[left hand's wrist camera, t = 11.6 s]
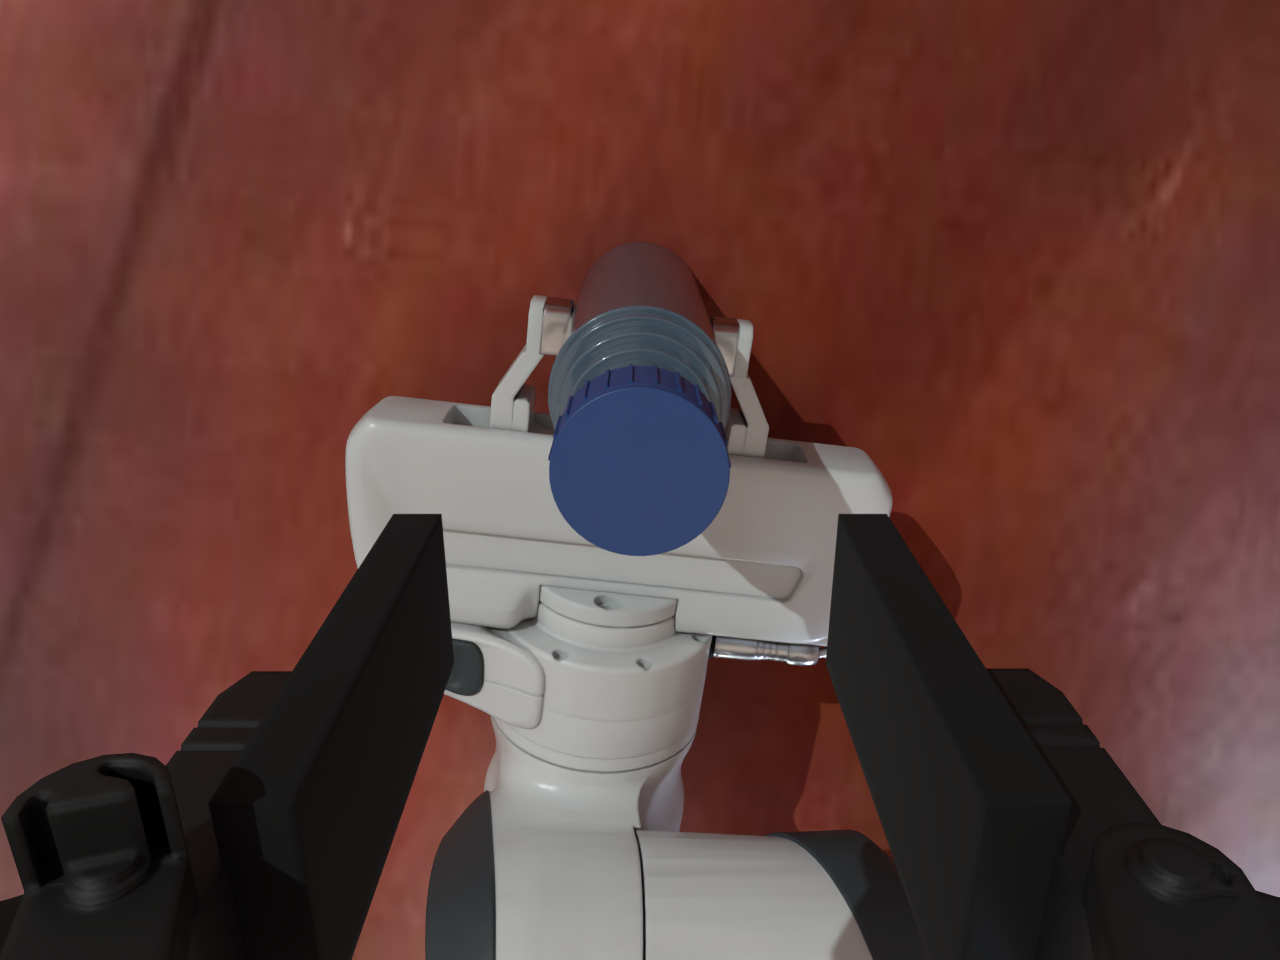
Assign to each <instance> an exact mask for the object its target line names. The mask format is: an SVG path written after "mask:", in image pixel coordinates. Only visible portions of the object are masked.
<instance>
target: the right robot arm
mask: <svg viewBox="0 0 1280 960" xmlns="http://www.w3.org/2000/svg"><path fill="white" fill-rule="evenodd" d="M573 309H574V300H568V299H561V298H554V297H547V296H537V295H534V296H533V298H532V300H531V304H530V310H529V318H528V332H527V344H526V345H525V346H524V348H523V349H522V351H521V352H520V353H519V355H518V356H517V358H516V359H515V361H514V362H513V363H512V365H511V366H510V368H509V369H508V371H507V372H506V373H505V375H504V376H503V378H502V379H501V381H500V382H499V384H498V386H497V388H496V389H495V391H494V393H493V395H492V402H491V407H490V406H481V405H472V404H463V403H454V402H445V401H436V400H427V399H418V398H410V397H402V396H389V397H386V398H384V399H382V400H381V401H380V402H379V403H377V404H376V405H375V406H374V407H373V408H371V409H370V410H369V411H368V412H367V413H366V414H365V415H364V416H363V417H362V418H361V419H360V420H359V421H358V422H357V424H356V425H355V426H354V427H353V429H352V431H351V433H350V434H349V437H348V440H347V445H346V489H347V502H348V513H349V522H350V530H351V537H352V543H353V549H354V555H355V560H356V564H357V568H359V567H360V565H361V564H362V562H363V560H364V559H365V557H366V556H367V554H368V553H369V551H370V550H371V548H372V546H373V545H374V543H375V542H376V540H377V539H378V537H379V535H380V534H381V532H382V531H383V529H384V528H385V526H386V525H387V523H388V521H389V520H390V518H391V517H392V515H393V514H442V525H443V537H444V548H445V560H446V572H447V583H448V595H449V607H450V618H451V630H452V642H453V654H454V665H453V668H452V671H451V674H450V677H449V680H448V683H447V686H446V688H445V691H444V694H445V695H448V696H450V697H453V698H455V699H457V700H460V701H462V702H464V703H467V704H469V705H471V706H473V707H475V708H477V709H480V710H482V711H484V712H486V713H488V714H490V715H491V720H492V725H493V729H494V732H495V736H496V750H495V754H494V756H493V758H492V760H491V762H490V765H489V768H488V770H487V774H486V778H485V784H484V793H482V794H481V795H480V796H479V797H477V798H476V799H475V800H474V801H473V802H472V803H471V804H470V805H469V806H468V808H467V809H466V810H465V811H464V812H463V814H462V815H461V816H460V817H459V818H458V820H457V821H456V822H455V823H454V824H453V826H452V827H451V828H450V829H449V831H448V832H447V833H446V834H445V836H444V837H443V839H442V840H441V843H440V845H439V848H438V850H437V853H436V856H435V859H434V863H433V867H432V871H431V876H430V882H429V888H428V897H427V908H426V934H425V952H426V960H929V959H928V956H927V953H926V950H925V948H924V945H923V942H922V939H921V936H920V933H919V930H918V927H917V924H916V922H915V919H914V916H913V913H912V910H911V907H910V904H909V901H908V899H907V896H906V893H905V890H904V887H903V884H902V881H901V878H900V876H899V873H898V870H897V867H896V864H895V861H894V860H893V859H892V858H891V857H890V856H889V855H888V854H887V853H885V852H884V851H883V850H882V849H881V848H879V847H878V846H877V845H876V844H875V843H873V842H872V841H871V840H870V839H869V838H867V837H866V836H865V835H863V834H861V833H860V832H857V831H854V830H831V831H808V832H781V833H771V834H767V835H765V836H755V835H735V834H716V833H696V832H679V830H680V825H681V820H682V814H683V806H684V787H683V782H682V777H681V765H682V762H683V760H684V758H685V756H686V754H687V753H688V751H689V749H690V747H691V745H692V743H693V740H694V737H695V734H696V730H697V724H698V719H699V713H700V707H701V701H702V695H703V689H704V683H705V677H706V671H707V663H708V659H710V658H711V657H717V658H727V659H737V660H752V661H754V660H771V661H774V660H775V661H781V662H784V663H785V664H789V665H796V666H810V665H816V664H817V663H818V661H819V658H825V657H826V653H827V647H824V648H819V646H827V642H828V630H829V618H830V607H831V595H832V583H833V572H834V560H835V548H836V537H837V525H838V514H887V515H888V517H890V513H891V508H892V494H891V490H890V488H889V486H888V484H887V482H886V480H885V478H884V476H883V475H882V473H881V471H880V470H879V469H878V467H877V466H876V465H875V464H874V462H873V461H872V460H871V459H870V457H869V456H868V455H867V454H866V453H865V452H864V451H863V450H861V449H858V448H854V447H846V446H837V445H828V444H819V443H810V442H802V441H793V440H784V439H775V438H767V437H768V431H769V426H768V423H767V420H766V418H765V415H764V413H763V410H762V408H761V405H760V403H759V400H758V397H757V395H756V392H755V390H754V387H753V385H752V382H751V380H750V377H749V375H748V373H747V372H748V366H749V359H750V353H751V347H752V341H753V325H752V323H751V322H750V320H742V319H734V318H724V317H714V316H711V317H710V321H711V324H712V327H713V330H714V332H715V335H716V338H717V341H718V343H719V346H720V349H721V352H722V354H723V357H724V360H725V363H726V366H727V368H728V371H729V376H730V381H731V384H732V386H733V389H734V391H735V394H736V396H737V399H738V401H739V404H740V406H741V409H742V410H741V411H740V410H739V409H737V408H730V412H729V417H728V420H727V423H726V426H725V429H724V430H725V434H726V438H727V441H728V445H726V447H727V451H728V455H729V459H730V462H731V468H730V479H729V486H728V491H727V495H726V497H725V500H724V503H723V505H722V507H721V509H720V511H719V513H718V514H717V516H716V517H715V519H714V520H713V522H712V523H711V524H710V525H709V526H708V527H707V528H706V529H705V530H704V531H703V532H702V533H701V534H700V535H699V536H697V537H696V538H695V539H693V540H692V541H690V542H689V543H687V544H685V545H683V546H681V547H679V548H677V549H675V550H672V551H669V552H666V553H662V554H658V555H651V556H628V555H621V554H617V553H613V552H609V551H607V550H604V549H602V548H599V547H597V546H596V545H594V544H592V543H590V542H588V541H587V540H586V539H584V538H583V537H582V536H580V535H579V534H578V533H577V532H576V531H575V530H574V529H573V528H572V527H571V526H570V525H569V524H568V523H567V521H566V520H565V519H564V517H563V516H562V514H561V513H560V511H559V509H558V507H557V505H556V503H555V501H554V498H553V494H552V491H551V487H550V481H549V464H550V461H548V456H549V453H550V449H551V446H552V442H553V439H554V438H553V435H554V431H555V429H554V425H553V422H552V419H551V415H550V413H544V412H535V411H534V410H535V393H536V388H535V387H534V386H533V385H526V384H524V383H525V381H526V380H527V378H528V377H529V376H530V374H531V373H532V371H533V370H534V368H535V367H536V366H537V364H538V363H539V361H540V360H541V359H542V357H543V356H544V354H548V355H557V352H558V350H559V347H560V344H561V342H562V339H563V336H564V334H565V331H566V328H567V325H568V323H569V320H570V317H571V315H572V312H573ZM523 384H524V385H523Z"/></svg>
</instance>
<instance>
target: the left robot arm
mask: <svg viewBox="0 0 1280 960" xmlns="http://www.w3.org/2000/svg"><path fill="white" fill-rule="evenodd" d="M453 665H454V654H453V642H452V630H451V618H450V607H449V595H448V583H447V572H446V560H445V548H444V537H443V525H442V514H393V515H392V517H391V518H390V520H389V521H388V523H387V525H386V526H385V528H384V529H383V531H382V532H381V534H380V535H379V537H378V539H377V540H376V542H375V543H374V545H373V546H372V548H371V550H370V551H369V553H368V554H367V556H366V557H365V559H364V560H363V562H362V564H361V565H360V567H359V568H358V570H357V571H356V573H355V575H354V576H353V578H352V579H351V581H350V582H349V584H348V585H347V587H346V589H345V590H344V592H343V593H342V595H341V596H340V598H339V599H338V601H337V603H336V604H335V606H334V607H333V609H332V610H331V612H330V614H329V615H328V617H327V618H326V620H325V621H324V623H323V624H322V626H321V628H320V629H319V631H318V632H317V634H316V635H315V637H314V639H313V640H312V642H311V643H310V645H309V646H308V648H307V649H306V651H305V653H304V654H303V656H302V657H301V659H300V660H299V662H298V664H297V665H296V667H295V668H294V670H293V671H292V672H251V673H249V674H248V675H246V676H245V677H244V678H242V679H241V680H239V681H238V682H236V683H235V684H234V685H232V686H231V687H229V688H228V689H226V690H225V691H224V692H222V693H221V694H219V695H218V696H217V698H216V699H215V700H214V702H213V703H212V704H211V706H210V707H209V708H208V710H207V711H206V712H205V714H204V715H203V717H202V718H201V719H200V721H199V722H198V728H194V729H193V730H192V731H191V733H190V734H189V735H188V737H187V738H186V739H185V741H184V742H183V743H182V745H181V751H176V753H175V754H174V755H173V757H172V758H171V760H170V761H169V762H168V764H167V765H166V766H165V765H164V764H162V763H161V762H160V761H159V760H158V759H156V758H154V757H150V756H145V755H140V754H135V753H126V754H113V755H103V756H99V757H95V758H92V759H88V760H85V761H81V762H77V763H74V764H71V765H69V766H67V767H65V768H63V769H61V770H58V771H56V772H54V773H52V774H50V775H48V776H46V777H44V778H42V779H40V780H39V781H38V782H36V783H35V784H34V785H32V786H31V787H30V788H28V789H27V790H26V791H24V792H23V793H22V794H20V795H19V796H18V797H16V799H15V800H14V801H13V803H12V804H11V805H10V807H9V808H8V809H7V811H6V812H5V813H4V815H3V816H2V817H1V819H2V822H3V825H4V828H5V832H6V835H7V838H8V841H9V844H10V847H11V851H12V854H13V857H14V860H15V863H16V866H17V869H18V873H19V876H20V879H21V882H22V885H23V888H24V895H21V896H17V897H14V898H11V899H7V900H4V901H0V960H351V959H352V956H353V953H354V950H355V948H356V945H357V942H358V939H359V936H360V933H361V930H362V927H363V924H364V922H365V919H366V916H367V913H368V910H369V907H370V904H371V901H372V899H373V896H374V893H375V890H376V887H377V884H378V881H379V878H380V876H381V873H382V870H383V867H384V864H385V861H386V858H387V855H388V853H389V850H390V847H391V844H392V841H393V838H394V835H395V832H396V830H397V827H398V824H399V821H400V818H401V815H402V812H403V809H404V806H405V804H406V801H407V798H408V795H409V792H410V789H411V786H412V783H413V781H414V778H415V775H416V772H417V769H418V766H419V763H420V760H421V758H422V755H423V752H424V749H425V746H426V743H427V740H428V737H429V735H430V732H431V729H432V726H433V723H434V720H435V717H436V714H437V712H438V709H439V706H440V703H441V700H442V697H443V694H444V691H445V688H446V686H447V683H448V680H449V677H450V674H451V671H452V668H453ZM826 665H827V668H828V671H829V674H830V677H831V680H832V683H833V686H834V688H835V691H836V694H837V697H838V700H839V703H840V706H841V709H842V712H843V714H844V717H845V720H846V723H847V726H848V729H849V732H850V735H851V737H852V740H853V743H854V746H855V749H856V752H857V755H858V758H859V760H860V763H861V766H862V769H863V772H864V775H865V778H866V781H867V783H868V786H869V789H870V792H871V795H872V798H873V801H874V804H875V806H876V809H877V812H878V815H879V818H880V821H881V824H882V827H883V830H884V832H885V835H886V838H887V841H888V844H889V847H890V850H891V853H892V855H893V858H894V861H895V864H896V867H897V870H898V873H899V876H900V878H901V881H902V884H903V887H904V890H905V893H906V896H907V899H908V901H909V904H910V907H911V910H912V913H913V916H914V919H915V922H916V924H917V927H918V930H919V933H920V936H921V939H922V942H923V945H924V948H925V950H926V953H927V956H928V959H929V960H1280V897H1275V896H1272V895H1269V894H1265V893H1262V892H1259V891H1256V890H1255V889H1254V888H1253V886H1252V885H1251V883H1250V882H1249V880H1248V879H1247V877H1246V876H1245V874H1244V872H1243V871H1242V869H1241V868H1239V867H1238V866H1237V865H1236V864H1235V863H1233V862H1232V861H1231V860H1230V859H1229V858H1228V857H1226V856H1225V855H1224V854H1223V853H1222V852H1221V851H1219V850H1218V849H1217V848H1215V847H1213V846H1211V845H1209V844H1207V843H1205V842H1204V841H1202V840H1200V839H1198V838H1196V837H1194V836H1192V835H1191V834H1189V833H1185V832H1182V831H1179V830H1176V829H1173V828H1169V827H1166V826H1163V825H1161V824H1160V822H1159V821H1158V820H1157V818H1156V817H1155V816H1154V814H1153V813H1152V812H1151V810H1150V809H1149V808H1148V806H1147V805H1146V804H1145V802H1144V801H1143V800H1142V798H1141V797H1140V796H1139V794H1138V793H1137V792H1136V790H1135V789H1134V788H1133V786H1132V785H1131V784H1130V782H1129V781H1128V780H1127V778H1126V777H1125V776H1124V774H1123V773H1122V772H1121V770H1120V769H1119V768H1118V766H1117V765H1116V764H1115V762H1114V761H1113V760H1112V758H1111V757H1110V755H1109V754H1108V753H1107V751H1106V750H1105V749H1104V748H1100V745H1099V741H1098V739H1097V738H1096V737H1095V735H1094V734H1093V733H1092V731H1091V730H1090V729H1089V727H1088V726H1087V725H1083V722H1082V718H1081V717H1080V715H1079V714H1078V713H1077V711H1076V710H1075V709H1074V707H1073V706H1072V705H1071V703H1070V702H1069V701H1068V699H1067V698H1066V697H1065V695H1064V694H1063V693H1062V692H1061V691H1060V690H1058V689H1057V688H1055V687H1054V686H1052V685H1051V684H1050V683H1048V682H1047V681H1045V680H1044V679H1042V678H1041V677H1040V676H1038V675H1037V674H1035V673H1034V672H1032V671H1031V670H1029V669H986V668H985V667H984V665H983V664H982V662H981V660H980V659H979V657H978V656H977V654H976V653H975V651H974V649H973V648H972V646H971V645H970V643H969V642H968V640H967V639H966V637H965V635H964V634H963V632H962V631H961V629H960V628H959V626H958V624H957V623H956V621H955V620H954V618H953V617H952V615H951V614H950V612H949V610H948V609H947V607H946V606H945V604H944V603H943V601H942V599H941V598H940V596H939V595H938V593H937V592H936V590H935V589H934V587H933V585H932V584H931V582H930V581H929V579H928V578H927V576H926V575H925V573H924V571H923V570H922V568H921V567H920V565H919V564H918V562H917V560H916V559H915V557H914V556H913V554H912V553H911V551H910V550H909V548H908V546H907V545H906V543H905V542H904V540H903V539H902V537H901V535H900V534H899V532H898V531H897V529H896V528H895V526H894V525H893V523H892V521H891V520H890V518H889V517H888V515H887V514H838V525H837V537H836V548H835V560H834V572H833V583H832V595H831V607H830V618H829V630H828V642H827V653H826Z"/></svg>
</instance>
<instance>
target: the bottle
mask: <svg viewBox="0 0 1280 960" xmlns="http://www.w3.org/2000/svg"><path fill="white" fill-rule="evenodd" d="M629 364H633V366H636V365H637V366H652V367H653V365H657V367H658V368H662V369H665V370H669V371H671V372H674V373H676V371H677V372H679V373H680V376H682V377H683V378H685V379H687V380H688V381H690V382H691V383H692V384H694V385H696V384H697V385H698V386H699V388H700V391H701V392H702V393H703V394H704V395H705V396H706V398H707V399H708V400H709V402H713V403H714V406H715V410H716V414H717V417H718V420H719V422H722V423H723V427H724V429H725V426H726V423H727V420H728V417H729V412H730V407H731V396H732V392H731V381H730V376H729V371H728V368H727V366H726V363H725V360H724V357H723V354H722V352H721V349H720V346H719V343H718V341H717V338H716V335H715V332H714V330H713V327H712V324H711V321H710V319H709V316H708V313H707V310H706V308H705V305H704V302H703V299H702V297H701V294H700V291H699V288H698V286H697V283H696V280H695V278H694V276H693V274H692V272H691V270H690V269H689V267H688V266H687V265H686V263H685V262H684V261H683V260H682V259H681V258H680V257H679V256H677V255H676V254H675V253H673V252H672V251H670V250H669V249H666V248H664V247H662V246H659V245H656V244H652V243H646V242H635V243H628V244H624V245H620V246H618V247H615V248H613V249H611V250H610V251H608V252H606V253H605V254H604V255H602V256H601V257H600V258H599V259H598V260H597V261H596V262H595V263H594V264H593V266H592V267H591V268H590V270H589V272H588V273H587V275H586V277H585V280H584V282H583V285H582V288H581V290H580V293H579V296H578V298H577V301H576V304H575V307H574V309H573V312H572V315H571V317H570V320H569V323H568V325H567V328H566V331H565V334H564V336H563V339H562V342H561V344H560V347H559V350H558V352H557V355H556V358H555V361H554V363H553V366H552V370H551V373H550V377H549V384H548V404H549V411H550V415H551V419H552V422H553V425H554V429H555V428H556V424H557V421H558V417H559V415H560V416H562V415H563V413H564V410H565V408H566V407H567V404H568V400H569V397H570V396H573V397H574V395H575V394H576V393H577V392H578V391H579V390H580V389H581V388H582V387H583V386H584V385H585V381H587V380H589V381H591V380H592V379H594V378H595V377H597V376H599V375H601V374H603V373H605V372H606V370H607V369H610V371H611V370H613V369H617V368H621V367H626V366H629Z"/></svg>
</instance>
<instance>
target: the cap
mask: <svg viewBox="0 0 1280 960" xmlns="http://www.w3.org/2000/svg"><path fill="white" fill-rule="evenodd" d="M553 438H554V439H553V442H552V446H551V449H550V453H549V456H548V461H550V464H549V481H550V487H551V491H552V494H553V498H554V501H555V503H556V505H557V507H558V509H559V511H560V513H561V514H562V516H563V517H564V519H565V520H566V521H567V523H568V524H569V525H570V526H571V527H572V528H573V529H574V530H575V531H576V532H577V533H578V534H579V535H580V536H582V537H583V538H584V539H586V540H587V541H588V542H590V543H592V544H594V545H596V546H597V547H599V548H602V549H604V550H607V551H609V552H613V553H617V554H621V555H628V556H651V555H658V554H662V553H666V552H669V551H672V550H675V549H677V548H679V547H681V546H683V545H685V544H687V543H689V542H690V541H692V540H693V539H695V538H696V537H697V536H699V535H700V534H701V533H702V532H703V531H704V530H705V529H706V528H707V527H708V526H709V525H710V524H711V523H712V522H713V520H714V519H715V517H716V516H717V514H718V513H719V511H720V509H721V507H722V505H723V503H724V500H725V497H726V495H727V491H728V486H729V479H730V468H731V462H730V459H729V455H728V451H727V447H726V445H728V441H727V438H726V434H725V430H724V427H723V423H722V422H719V420H718V417H717V414H716V410H715V406H714V403H713V402H709V400H708V399H707V398H706V396H705V395H704V394H703V393H702V392H701V391H700V388H699V386H698V385H697V384H696V385H694V384H692V383H691V382H690V381H688V380H687V379H685V378H683V377H682V376H680V373H679V372H677V371H676V373H674V372H671V371H669V370H665V369H662V368H658V367H657V365H653V367H652V366H637V365H636V366H633V364H629V366H626V367H621V368H617V369H613V370H611V371H610V369H607V370H606V372H605V373H603V374H601V375H599V376H597V377H595V378H594V379H592V380H591V381H589V380H587V381H585V385H584V386H583V387H582V388H581V389H580V390H579V391H578V392H577V393H576V394H575V395H574V397H573V396H570V397H569V400H568V404H567V407H566V408H565V410H564V413H563V415H562V416H560V415H559V417H558V421H557V424H556V428H555V431H554V435H553Z"/></svg>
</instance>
